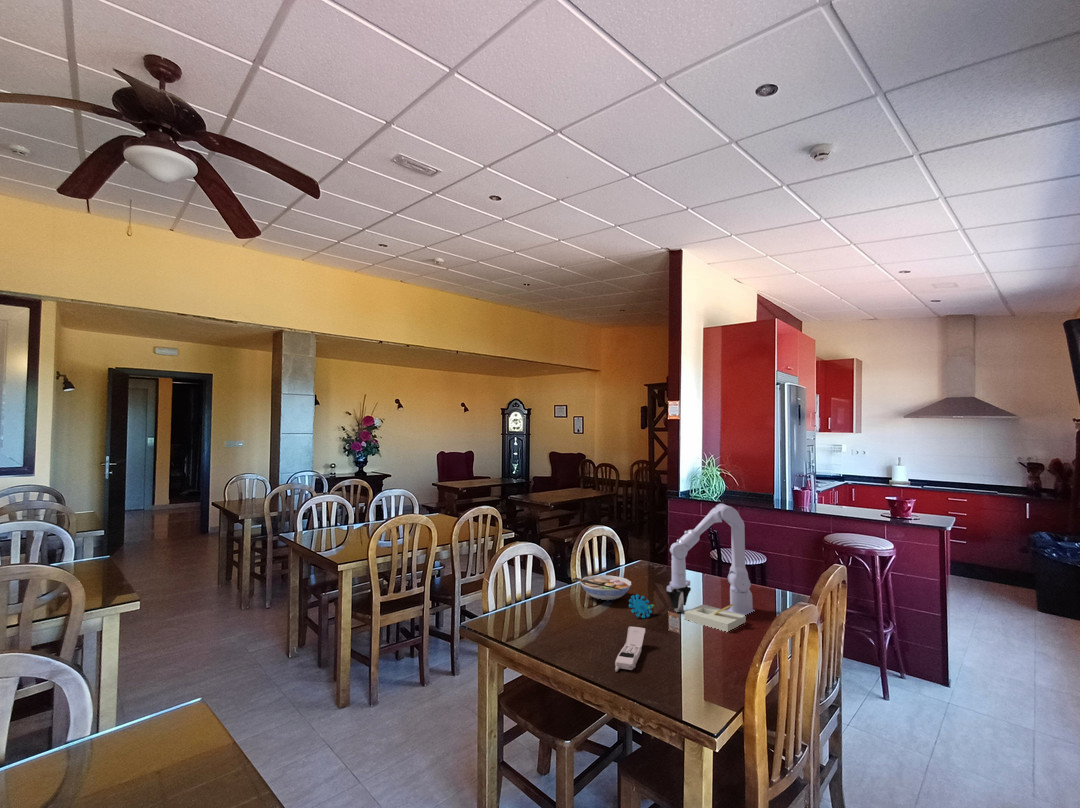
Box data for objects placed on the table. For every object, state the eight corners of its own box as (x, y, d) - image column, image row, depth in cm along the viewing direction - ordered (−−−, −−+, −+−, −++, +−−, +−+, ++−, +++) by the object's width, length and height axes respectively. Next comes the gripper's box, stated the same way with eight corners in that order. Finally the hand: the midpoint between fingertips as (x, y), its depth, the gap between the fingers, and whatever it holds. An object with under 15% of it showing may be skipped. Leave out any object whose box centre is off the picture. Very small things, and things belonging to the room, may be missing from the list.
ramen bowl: (643, 598, 228) (643, 580, 229) (615, 611, 211) (615, 591, 212) (597, 587, 245) (597, 570, 245) (567, 598, 228) (567, 579, 228)
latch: (713, 614, 199) (713, 613, 199) (717, 613, 201) (717, 611, 201) (729, 606, 194) (728, 605, 194) (733, 605, 196) (732, 603, 196)
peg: (677, 609, 214) (677, 589, 215) (685, 611, 211) (685, 591, 212) (672, 611, 212) (672, 591, 212) (680, 613, 209) (680, 593, 210)
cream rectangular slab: (703, 611, 211) (703, 604, 211) (745, 623, 198) (745, 615, 198) (684, 619, 202) (684, 611, 202) (727, 632, 188) (727, 624, 189)
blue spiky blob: (633, 616, 201) (627, 592, 208) (627, 623, 204) (621, 600, 212) (658, 617, 204) (651, 594, 211) (651, 624, 207) (645, 601, 215)
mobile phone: (646, 627, 178) (631, 655, 154) (646, 645, 177) (632, 675, 154) (628, 625, 180) (612, 652, 157) (629, 643, 179) (612, 672, 156)
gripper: (680, 568, 220) (680, 600, 220) (660, 573, 211) (660, 607, 210) (694, 571, 215) (695, 604, 214) (675, 577, 206) (675, 612, 205)
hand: (679, 606), depth 212 cm, fingers open, 5 cm apart
